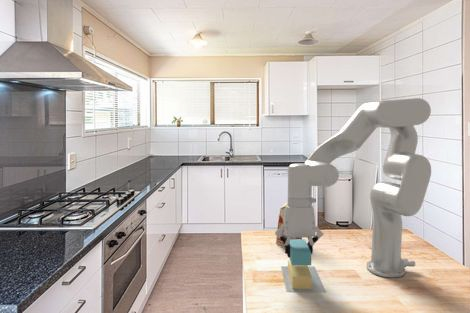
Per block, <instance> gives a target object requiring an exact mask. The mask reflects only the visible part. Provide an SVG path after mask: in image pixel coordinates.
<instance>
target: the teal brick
mask: <svg viewBox="0 0 470 313" xmlns="http://www.w3.org/2000/svg"><path fill="white" fill-rule="evenodd" d="M307 243H308V242H307V241H306V238H304V239H303V238H302V239H291V240H290V242H289V244H290V257H288V258H289V260H290V261H291V264H292V265H307V266H312V254H311V251H310V249H309V247H308V245H307Z"/></svg>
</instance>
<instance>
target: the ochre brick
mask: <svg viewBox="0 0 470 313" xmlns="http://www.w3.org/2000/svg"><path fill="white" fill-rule="evenodd" d="M287 266H288V274H289V277H290V281H291V285H292V289H312V276H311V273H310V271H309V268H308V266H309V265H292V264H291V261H290V259H289V260H287Z"/></svg>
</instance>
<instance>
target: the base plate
mask: <svg viewBox="0 0 470 313" xmlns="http://www.w3.org/2000/svg"><path fill="white" fill-rule="evenodd" d="M307 266H308V268H309V271H310V273H311V276H312V289H292V285H291V281H290V277H289V274H288V265H287V266H286V265H285V266H280V269H281V273H282V278H283V280H284V286H285V291H286V293H327V291H326V289H325V287H324V283H323V281H322V280H321V276H319V273H318V271H317V268H316V267H315V266H311V265H307Z"/></svg>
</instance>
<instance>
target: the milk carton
mask: <svg viewBox="0 0 470 313" xmlns="http://www.w3.org/2000/svg"><path fill="white" fill-rule="evenodd" d="M287 204H288V201H287V202H285V203H283V205H282V206H281V207H280V209H279V214H278V221H277V229H276V231H277V230H278V229H279V228H280V227H281V226H282V225H283V216H284V208H285V205H287ZM281 235H283V236H284V237H286V236H285V235H284V232H283V231H282V232H281ZM291 239H303V237H292V238H291ZM275 243H276V244H278V245H280V246H283V247H285V244H284V243H283V242H282V241H281V240H280V238H278V237H277V236H276V241H275Z"/></svg>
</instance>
